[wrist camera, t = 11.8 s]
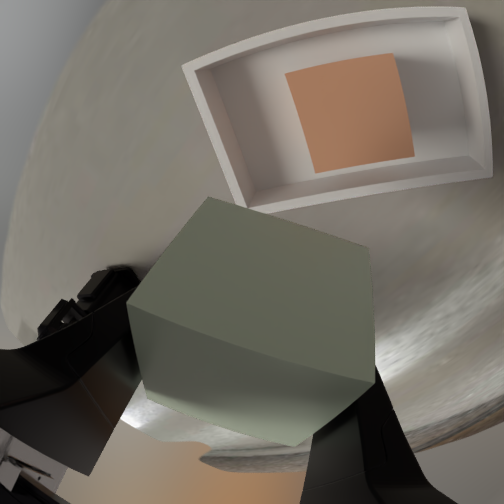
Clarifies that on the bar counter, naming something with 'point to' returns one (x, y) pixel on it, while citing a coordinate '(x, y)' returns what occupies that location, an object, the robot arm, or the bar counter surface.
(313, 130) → the brick
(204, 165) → the bar counter surface
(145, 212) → the bar counter surface
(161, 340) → the pale green block
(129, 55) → the bar counter surface
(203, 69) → the tote
